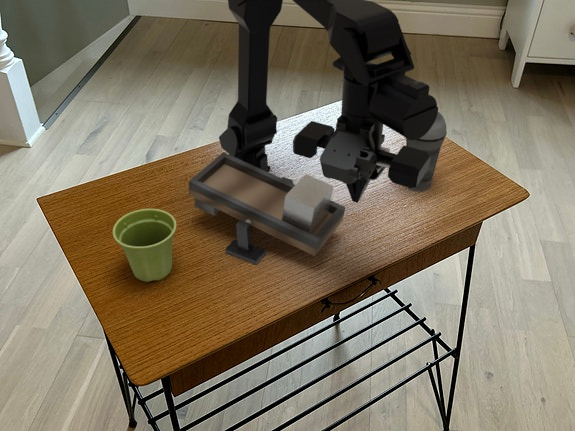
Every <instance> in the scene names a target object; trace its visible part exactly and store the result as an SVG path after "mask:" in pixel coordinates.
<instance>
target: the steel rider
mask: <svg viewBox="0 0 575 431" xmlns="http://www.w3.org/2000/svg"><path fill="white" fill-rule="evenodd" d="M334 187H335V186H334V185H332V184H329V183H327V182H326V181H322V180H321V179H319V178H316V177H313V176H311V175H309V174H307V173H305V174H304V175H303V176H302V177H301V178H300V179H299V180H298V182H297V183H295V186H294V187H293V188H292V189H291V190H290V191H289V192H288V193H287V195H286V196H285V202H284V209H283V216H282V221H284V222H286V223H288V224H290V225H292V226H294V227H297V228H299V229H301V230H303V231H305V232H307V233H309V234H312V233H313V232H314V230H315V229H316V228H317V227H318V225H319V224H320V223H321V222H322V221H323V219H324V218H325V217H326V216H327V214H328V210H329V206H330V201H332V195H333V191H334Z"/></svg>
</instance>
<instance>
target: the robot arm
mask: <svg viewBox="0 0 575 431" xmlns="http://www.w3.org/2000/svg"><path fill="white" fill-rule="evenodd" d="M283 1H284V0H227V4H228V10H229V11H230V12H231V14H232V15H233V17H234V19H235V20H236V22H237V24H238V62H237V63H238V65H237V66H238V67H237V68H238V72H237V73H238V74H237V75H238V76H237V81H238V82H237V84H238V85H237V101H236V102H235V104H234V105H233V107H232V109H231V110H230V112H229V113H228V118H227V126H226V127H227V128H226V130H224V131H223V132H222V133H221V134H220V135H219V137H218V139H219V143H220V147H221V149H222V150H224V151H225V153H226V154H228V155H231V156H233V157H235V158H237V159H240V160H242V161H244V162H246V163H249V164H251V165H253V166H255V167H257V168H260V169H262V170H264V171H266V172H269V171H270V170H271V166H270V165H269V163H268V161H269V160H268V154H267V153H266V146H268V145H271V144H273V140H274V138H275V135H277V134H278V131H277V125H278V124H277V123H278V117H277V115H276V114H274V112H273V110H271V108H270V107H269V106H268V104H267V103H268V102H267V100H268V99H267V98H268V97H267V96H268V79H269V77H268V76H269V63H270V62H269V60H270V39H271V27H272V25H273V24H274V22H275V20H276V19H277V18H278V16H279V14H280V13H281V11H282V7H283ZM292 2H294V4H296V5H297V6H299V8H300V9H302V10H303V11H304V12H305V13H307V14H308V16H310V17H312V18H313V19H314V20H315V21H316V22H318V23H319V24H320V25H321V26H322V27H324V29H325V31H327V36H328V41H329V42H328V44H329V45H330V46H331V48H332V49H333V50H334V51H335V52H336V53H337V55H339V57H338V58H337V59H335V60H333V61H332V65H333V67H334V68H336V69H338V70H340V71H341V72H343V74H342V93H341V110H340V113H341V114H340V116H339V117H338V118H337V120H336V124H335V128H334V127H333V126H332V125H329V124H328V125H327V124H325V123H320V122H317V121H314V120H313V121H312V120H311V121H309V122H308V123H307V124H306V125H305V126H304V127H303V128H302V129H301V130H300V131H299V132H298V133H297V134H296V135H294V138H293V140H292V152H293V154H294V155H297V156H300V157H303V158H306V159H311V158H314V157H315V156H316V155H317V153H318V148H321V149H323V151H322V153H321V155H320V157H319V162H320V168H321V171H322V176H323V177H324V178H326V179H333V180H336V181H339V182H342V183H343V184H345V185H346V187H347V190H348V193H349V196H350V199H351V201H352V202H353V203H356V204H357V203H359V202H360V200H361V198H362V197H363V195H364V193H365V191H366V189H367V187H368V185H369V184H370V182H371V181H375V180H378V178H379V177H380V175H381V174H382V173H383V172H384V171H385V170H386V169H388V170H387V171H388V172H387V177H388V178H389V180H390V181H391V182H392V184H396V185H400V186H403V187H406V188H408V187H409V188H414V187H417V185H418V184H419V182H420V181H421V179H422V178H423V176H424V175H425V173H426V172H427V170H428V169H429V164H430V157H429V155H428V153H427V151H423V150H419V149H415V148H411V147H408V146H406V145H403V146H402V147H401V148H400V149H399V151H397V153H394V152H390V151H391V149H390V148H388V147H384V146H382V145H383V143H384V142H385V138H386V137H385V136H386V135H385V134H383V131H384V126H386V127H387V128H389V129H391V131H394V132H396V133H397V134H399V135H400V136H402V137H404V138H405V139H406V138H407V139H409V140H417V139H419V138H421V137H422V136H424V135H425V134H426V133H427V132H428V131H429V130H430V128H431V127H432V125H433V124H434V122H435V120H436V117H437V114H438V112H439V106H438V103H437V100H436V98H435V97H434V96H433V95H431V94H430V92H429V91H430V89H431V88H430V85H429V84H427V83H425V82H423V81H420V80H416V79H414V78H411V77H410V76H408V75H406V73H407V72H410V71H413V70H414V69H415V65H414V62H413V59H412V56H411V55H412V53H411V51H410V49H409V47H408V45H407V42H406V39H405V36H404V34H403V31H402V29H401V25H400V23H399V18H398V17H397V15H396V14H395V13H394V12H393V10H390V9H389V8H388V7H385V6H382V5H381V4H378V3H376V2H374V1H372V0H371V1H370V0H292ZM388 55H391V56H392V57H393V58H391V59H389V60H386V61H382V62H380V63H377V62H374V61H375V60H377V59H381V58H383V57H385V56H388ZM409 188H408V189H409Z"/></svg>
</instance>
